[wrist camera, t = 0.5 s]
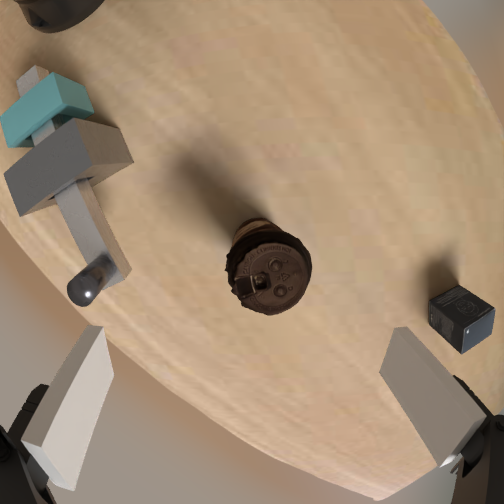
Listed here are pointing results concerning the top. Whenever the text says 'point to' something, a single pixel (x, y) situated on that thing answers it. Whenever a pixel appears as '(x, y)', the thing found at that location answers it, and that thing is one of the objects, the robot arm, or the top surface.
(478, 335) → the box
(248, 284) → the coffee cup
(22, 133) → the spacer
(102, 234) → the shaft
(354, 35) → the top surface
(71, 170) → the bearing block
